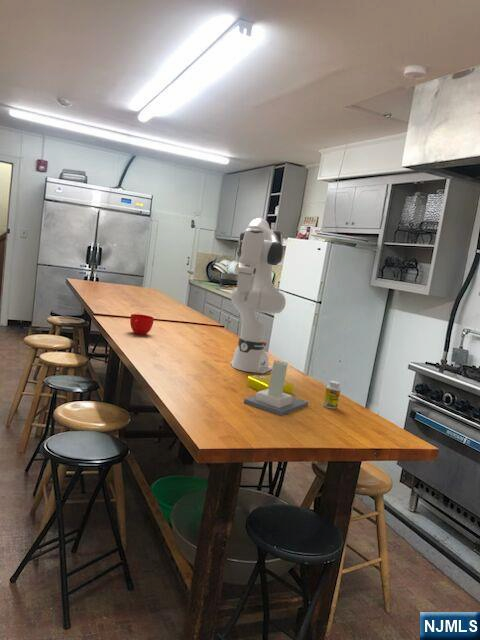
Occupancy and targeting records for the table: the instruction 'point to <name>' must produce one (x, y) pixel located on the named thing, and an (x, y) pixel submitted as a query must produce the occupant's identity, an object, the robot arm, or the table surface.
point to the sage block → (277, 378)
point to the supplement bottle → (332, 395)
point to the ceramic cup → (141, 323)
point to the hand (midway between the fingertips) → (243, 302)
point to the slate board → (277, 410)
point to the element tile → (266, 383)
